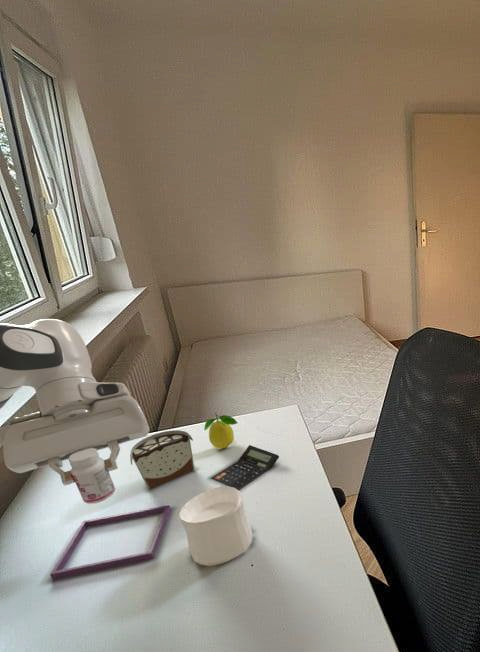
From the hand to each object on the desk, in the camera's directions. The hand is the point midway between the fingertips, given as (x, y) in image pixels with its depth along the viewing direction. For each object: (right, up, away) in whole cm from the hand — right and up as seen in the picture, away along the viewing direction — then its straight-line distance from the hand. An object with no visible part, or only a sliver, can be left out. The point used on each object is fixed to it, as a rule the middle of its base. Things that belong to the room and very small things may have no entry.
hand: (91, 476), depth 74 cm
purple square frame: (+1, -14, +6) cm, 15 cm away
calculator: (+17, -5, +24) cm, 30 cm away
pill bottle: (0, -4, +2) cm, 5 cm away
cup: (+21, -14, +3) cm, 25 cm away
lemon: (+8, -1, +35) cm, 36 cm away
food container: (0, -6, +25) cm, 25 cm away
